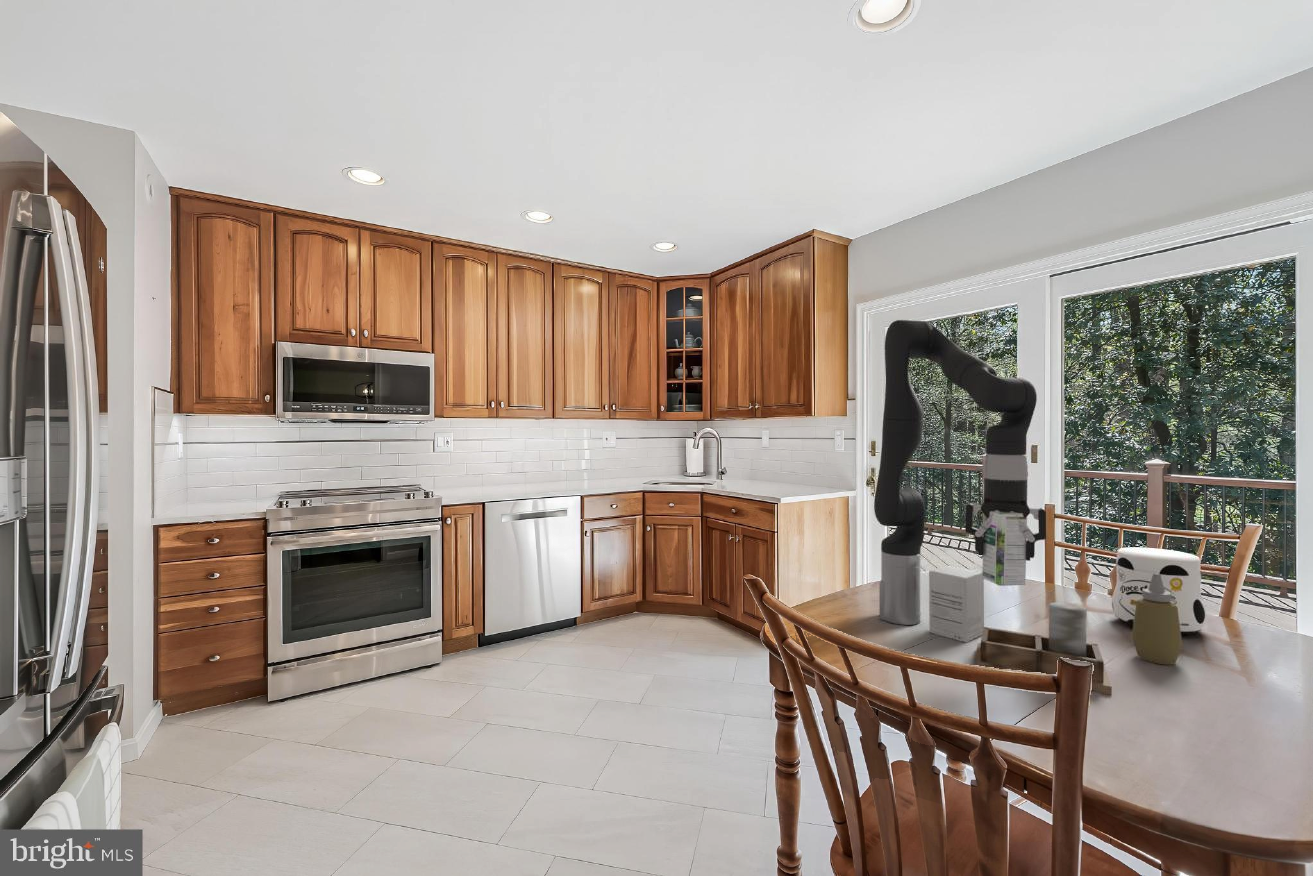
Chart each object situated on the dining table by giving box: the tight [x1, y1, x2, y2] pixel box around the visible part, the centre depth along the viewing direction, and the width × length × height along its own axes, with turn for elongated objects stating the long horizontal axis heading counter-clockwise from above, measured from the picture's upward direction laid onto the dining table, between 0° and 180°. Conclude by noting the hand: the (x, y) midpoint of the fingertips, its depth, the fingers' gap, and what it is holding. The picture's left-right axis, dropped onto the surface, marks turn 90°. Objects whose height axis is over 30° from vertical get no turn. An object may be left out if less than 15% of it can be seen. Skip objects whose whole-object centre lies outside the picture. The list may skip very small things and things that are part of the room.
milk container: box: [1111, 546, 1207, 635], centre depth 141 cm, size 17×17×18 cm
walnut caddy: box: [973, 602, 1113, 696], centre depth 117 cm, size 22×12×14 cm, turn 58°
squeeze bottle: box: [1131, 573, 1183, 665], centre depth 121 cm, size 8×8×18 cm
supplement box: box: [928, 565, 985, 643], centre depth 138 cm, size 9×9×15 cm
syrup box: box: [981, 511, 1028, 587], centre depth 118 cm, size 6×6×14 cm
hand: (1004, 557), depth 118 cm, fingers closed on syrup box, 7 cm apart
